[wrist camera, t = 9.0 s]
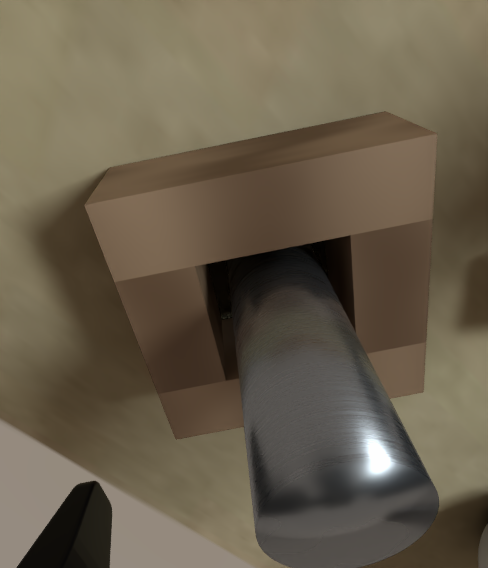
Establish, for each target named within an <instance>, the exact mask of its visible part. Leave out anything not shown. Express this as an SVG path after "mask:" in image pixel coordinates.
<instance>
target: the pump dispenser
mask: <svg viewBox="0 0 488 568" xmlns="http://www.w3.org/2000/svg"><path fill="white" fill-rule="evenodd" d="M478 564H479V568H488V524H487V525H486V527H485V529H484V531H483V533H482V536H481V539H480V543H479V550H478Z"/></svg>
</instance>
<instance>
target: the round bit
mask: <svg viewBox="0 0 488 568" xmlns="http://www.w3.org/2000/svg"><path fill="white" fill-rule="evenodd" d="M227 271H228V280H229V290H230V299H231V308H232V318H233V327H234V336H235V346H236V355H237V364H238V374H239V383H240V392H241V402H242V411H243V420H244V430H245V439H246V449H247V458H248V467H249V477H250V486H251V495H252V505H253V514H254V523H255V533H256V538H257V541H258V544H259V546H260V547H261V549H262V550H263V551H264V552H265V553H266V554H267V555H268V556H269V557H270V558H272V559H273V560H275V561H277V562H279V563H281V564H283V565H286V566H289V567H292V568H358V567H363V566H366V565H370V564H373V563H376V562H379V561H381V560H384V559H386V558H388V557H391V556H393V555H395V554H397V553H399V552H400V551H402V550H404V549H405V548H407V547H408V546H410V545H411V544H413V543H414V542H415V541H417V540H418V539H419V538H420V537H421V536H422V535H423V534H424V533H425V532H426V531H427V530H428V528H429V527H430V526H431V524H432V523H433V521H434V520H435V517H436V515H437V512H438V508H439V497H438V493H437V490H436V488H435V486H434V484H433V483H432V481H431V479H430V477H429V475H428V473H427V471H426V469H425V467H424V465H423V463H422V461H421V459H420V457H419V455H418V453H417V451H416V449H415V447H414V445H413V443H412V442H411V440H410V438H409V436H408V434H407V432H406V430H405V428H404V426H403V424H402V422H401V420H400V418H399V416H398V414H397V412H396V410H395V408H394V406H393V404H392V402H391V401H390V399H389V397H388V395H387V393H386V391H385V389H384V387H383V385H382V383H381V381H380V379H379V377H378V375H377V373H376V371H375V369H374V367H373V365H372V363H371V362H370V360H369V358H368V356H367V354H366V352H365V350H364V348H363V346H362V344H361V342H360V340H359V338H358V336H357V334H356V332H355V330H354V328H353V326H352V324H351V322H350V321H349V319H348V317H347V315H346V313H345V311H344V309H343V307H342V305H341V303H340V301H339V299H338V297H337V295H336V293H335V291H334V289H333V287H332V285H331V283H330V281H329V280H328V278H327V276H326V274H325V272H324V270H323V268H322V266H321V264H320V262H319V260H318V258H317V256H316V254H315V252H314V250H313V248H312V246H311V244H310V243H309V244H304V245H299V246H294V247H289V248H284V249H279V250H274V251H269V252H264V253H259V254H254V255H249V256H244V257H239V258H234V259H228V260H227Z"/></svg>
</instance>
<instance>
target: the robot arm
mask: <svg viewBox="0 0 488 568" xmlns="http://www.w3.org/2000/svg"><path fill="white" fill-rule="evenodd" d="M111 528H112V507H111V504H110V502H109V500H108V498H107V496H106V494H105V493H104V491H103V489H102V488H101V486H100V484H99V483H98V482H96V481H90V482H85V483H80V484H78V485H76V486H75V487H74V488H73V490H72V491H71V492H70V494H69V495H68V496H67V498H66V499H65V501H64V502H63V504H62V505H61V506H60V508H59V509H58V511H57V512H56V513H55V515H54V516H53V517H52V519H51V520H50V522H49V523H48V524H47V526H46V527H45V529H44V530H43V531H42V533H41V534H40V536H39V537H38V538H37V540H36V541H35V542H34V544H33V545H32V547H31V548H30V550H29V551H28V552H27V554H26V555H25V556H24V558H23V559H22V561H21V562H20V563H19V565H18V566H17V568H110V548H111Z"/></svg>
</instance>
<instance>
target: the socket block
mask: <svg viewBox="0 0 488 568" xmlns="http://www.w3.org/2000/svg"><path fill="white" fill-rule="evenodd" d="M436 150H437V133H434V132H432V131H430V130H427V129H425V128H423V127H420V126H418V125H416V124H413V123H411V122H409V121H407V120H404V119H402V118H400V117H397V116H395V115H393V114H390V113H388V112H386V111H385V112H380V113H376V114H371V115H366V116H361V117H356V118H351V119H346V120H341V121H336V122H331V123H326V124H322V125H317V126H312V127H307V128H302V129H297V130H292V131H287V132H282V133H277V134H272V135H267V136H263V137H258V138H253V139H248V140H243V141H238V142H233V143H228V144H223V145H218V146H213V147H209V148H204V149H199V150H194V151H189V152H184V153H179V154H174V155H169V156H164V157H159V158H154V159H150V160H145V161H140V162H135V163H130V164H125V165H120V166H115V167H110V168H109V170H108V171H107V172H106V174H105V175H104V177H103V178H102V180H101V181H100V183H99V184H98V186H97V187H96V189H95V190H94V192H93V193H92V194H91V196H90V197H89V199H88V200H87V202H86V203H85V205H84V206H85V209H86V211H87V214H88V216H89V219H90V221H91V224H92V226H93V229H94V232H95V234H96V237H97V239H98V242H99V244H100V247H101V249H102V252H103V255H104V257H105V260H106V262H107V265H108V267H109V270H110V273H111V275H112V278H113V280H114V283H115V285H116V288H117V290H118V293H119V296H120V298H121V301H122V303H123V306H124V308H125V311H126V313H127V316H128V319H129V321H130V324H131V326H132V329H133V331H134V334H135V336H136V339H137V342H138V344H139V347H140V349H141V352H142V354H143V357H144V359H145V362H146V365H147V367H148V370H149V372H150V375H151V377H152V380H153V383H154V385H155V388H156V390H157V393H158V395H159V398H160V400H161V403H162V406H163V408H164V411H165V413H166V416H167V418H168V421H169V423H170V426H171V429H172V431H173V434H174V436H175V439H182V438H187V437H192V436H197V435H203V434H208V433H213V432H218V431H224V430H229V429H234V428H239V427H244V420H243V411H242V402H241V392H240V383H239V374H238V364H237V355H236V346H235V336H234V327H233V318H230V319H224V320H222V319H221V315H220V311H219V307H218V303H217V299H216V295H215V291H214V287H213V283H212V279H211V275H210V271H209V267H208V263H213V262H218V261H223V260H228V259H234V258H239V257H244V256H249V255H254V254H259V253H264V252H269V251H274V250H279V249H284V248H289V247H294V246H299V245H304V244H309V243H314V242H319V241H324V240H325V250H326V261H327V272H328V280H329V281H330V283H331V285H332V287H333V289H334V291H335V293H336V295H337V297H338V299H339V301H340V303H341V305H342V307H343V309H344V311H345V313H346V315H347V317H348V319H349V321H350V322H351V324H352V326H353V328H354V330H355V332H356V334H357V336H358V338H359V340H360V342H361V344H362V346H363V348H364V350H365V352H366V354H367V356H368V358H369V360H370V362H371V363H372V365H373V367H374V369H375V371H376V373H377V375H378V377H379V379H380V381H381V383H382V385H383V387H384V389H385V391H386V393H387V395H388V397H389V399H391V398H396V397H401V396H406V395H412V394H417V393H422V392H424V374H425V355H426V336H427V318H428V299H429V280H430V262H431V243H432V224H433V206H434V187H435V168H436Z"/></svg>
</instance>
